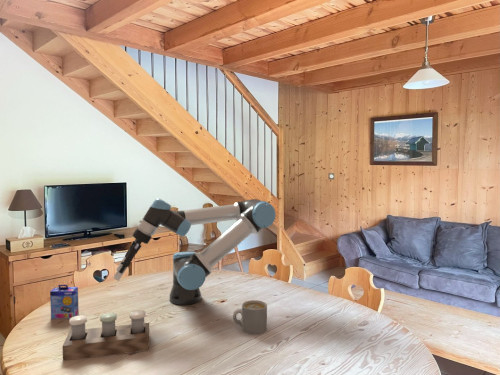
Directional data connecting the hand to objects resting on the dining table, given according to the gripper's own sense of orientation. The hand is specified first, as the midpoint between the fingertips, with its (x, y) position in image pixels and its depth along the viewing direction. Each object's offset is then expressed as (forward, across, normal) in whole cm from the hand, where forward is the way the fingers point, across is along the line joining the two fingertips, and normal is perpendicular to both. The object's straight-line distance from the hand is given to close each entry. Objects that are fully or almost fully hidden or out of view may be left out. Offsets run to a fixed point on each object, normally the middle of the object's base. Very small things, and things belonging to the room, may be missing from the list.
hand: (117, 275), depth 160 cm
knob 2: (+8, +25, +16) cm, 31 cm away
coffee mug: (-11, +23, +54) cm, 60 cm away
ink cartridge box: (+28, -8, -9) cm, 30 cm away
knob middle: (+13, +25, +7) cm, 30 cm away
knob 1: (+19, +25, -1) cm, 32 cm away
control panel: (+17, +25, +10) cm, 32 cm away
